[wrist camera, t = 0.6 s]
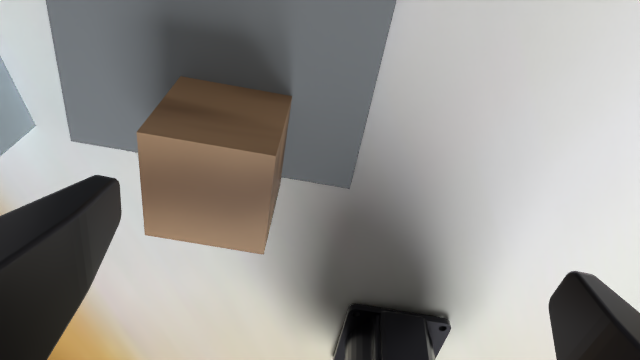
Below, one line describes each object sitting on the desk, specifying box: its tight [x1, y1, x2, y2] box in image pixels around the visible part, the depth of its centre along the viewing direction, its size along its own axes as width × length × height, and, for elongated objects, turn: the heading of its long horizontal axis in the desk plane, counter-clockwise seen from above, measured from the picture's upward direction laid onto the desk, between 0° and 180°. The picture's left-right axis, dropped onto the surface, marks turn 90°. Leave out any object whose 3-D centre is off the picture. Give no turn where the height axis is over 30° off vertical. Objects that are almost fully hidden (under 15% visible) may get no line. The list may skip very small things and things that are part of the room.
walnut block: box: [137, 76, 292, 254], centre depth 20 cm, size 5×5×5 cm
